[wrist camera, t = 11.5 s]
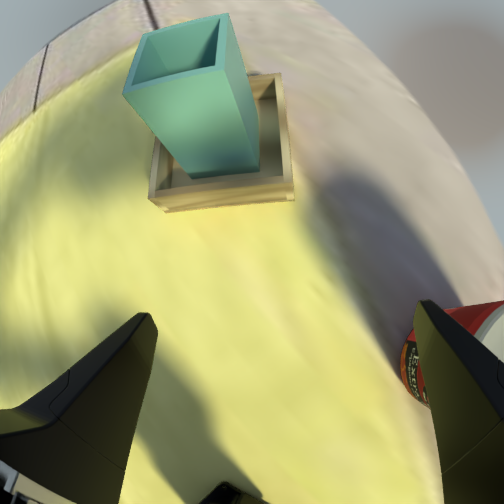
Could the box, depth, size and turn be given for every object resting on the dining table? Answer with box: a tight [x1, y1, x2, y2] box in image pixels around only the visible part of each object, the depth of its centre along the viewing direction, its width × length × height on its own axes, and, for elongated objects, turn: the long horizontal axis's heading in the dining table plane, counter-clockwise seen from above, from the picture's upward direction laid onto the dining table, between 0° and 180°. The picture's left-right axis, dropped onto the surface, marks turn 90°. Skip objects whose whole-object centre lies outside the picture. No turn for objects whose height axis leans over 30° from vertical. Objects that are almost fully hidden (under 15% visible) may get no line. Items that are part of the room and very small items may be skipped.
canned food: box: [400, 300, 504, 410], centre depth 14 cm, size 8×8×11 cm
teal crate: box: [122, 13, 260, 179], centre depth 20 cm, size 6×6×12 cm
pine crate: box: [148, 73, 295, 213], centre depth 25 cm, size 11×11×4 cm
